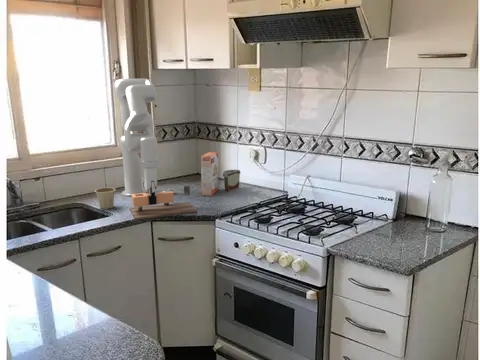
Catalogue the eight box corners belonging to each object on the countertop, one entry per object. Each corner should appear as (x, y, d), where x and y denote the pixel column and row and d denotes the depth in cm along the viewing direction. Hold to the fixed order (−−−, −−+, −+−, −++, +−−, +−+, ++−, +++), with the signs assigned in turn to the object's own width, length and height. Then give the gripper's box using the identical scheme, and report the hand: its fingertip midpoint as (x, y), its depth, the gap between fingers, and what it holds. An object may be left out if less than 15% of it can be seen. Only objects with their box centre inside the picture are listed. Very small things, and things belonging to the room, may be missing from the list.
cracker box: (212, 196, 243) (211, 156, 238) (201, 195, 244) (200, 156, 239) (219, 189, 256) (218, 151, 251) (208, 189, 257) (207, 151, 253)
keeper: (161, 195, 222) (161, 186, 221) (163, 193, 225) (163, 184, 224) (189, 195, 221) (188, 186, 220) (190, 193, 224) (190, 185, 223)
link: (133, 207, 211) (133, 197, 210) (132, 203, 217) (131, 194, 216) (174, 203, 217) (174, 193, 216) (171, 199, 223) (171, 190, 222)
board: (130, 210, 220) (129, 208, 220) (188, 203, 229) (188, 201, 229) (134, 219, 205) (134, 217, 205) (196, 212, 214) (196, 210, 214)
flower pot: (99, 211, 219) (98, 193, 217) (93, 206, 226) (92, 189, 224) (119, 208, 224) (118, 190, 222) (113, 203, 231) (111, 186, 229)
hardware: (137, 210, 216) (136, 199, 215) (167, 203, 226) (166, 193, 225) (139, 211, 214) (138, 200, 213) (170, 204, 224) (169, 194, 223)
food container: (231, 186, 264) (231, 168, 262) (240, 187, 261) (240, 169, 258) (218, 190, 254) (217, 172, 252) (227, 192, 251) (226, 173, 249)
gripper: (139, 161, 219) (141, 200, 223) (144, 168, 204) (146, 208, 208) (155, 160, 221) (157, 198, 225) (161, 166, 206) (163, 207, 210)
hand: (152, 203), depth 217 cm, fingers closed on link, 3 cm apart
